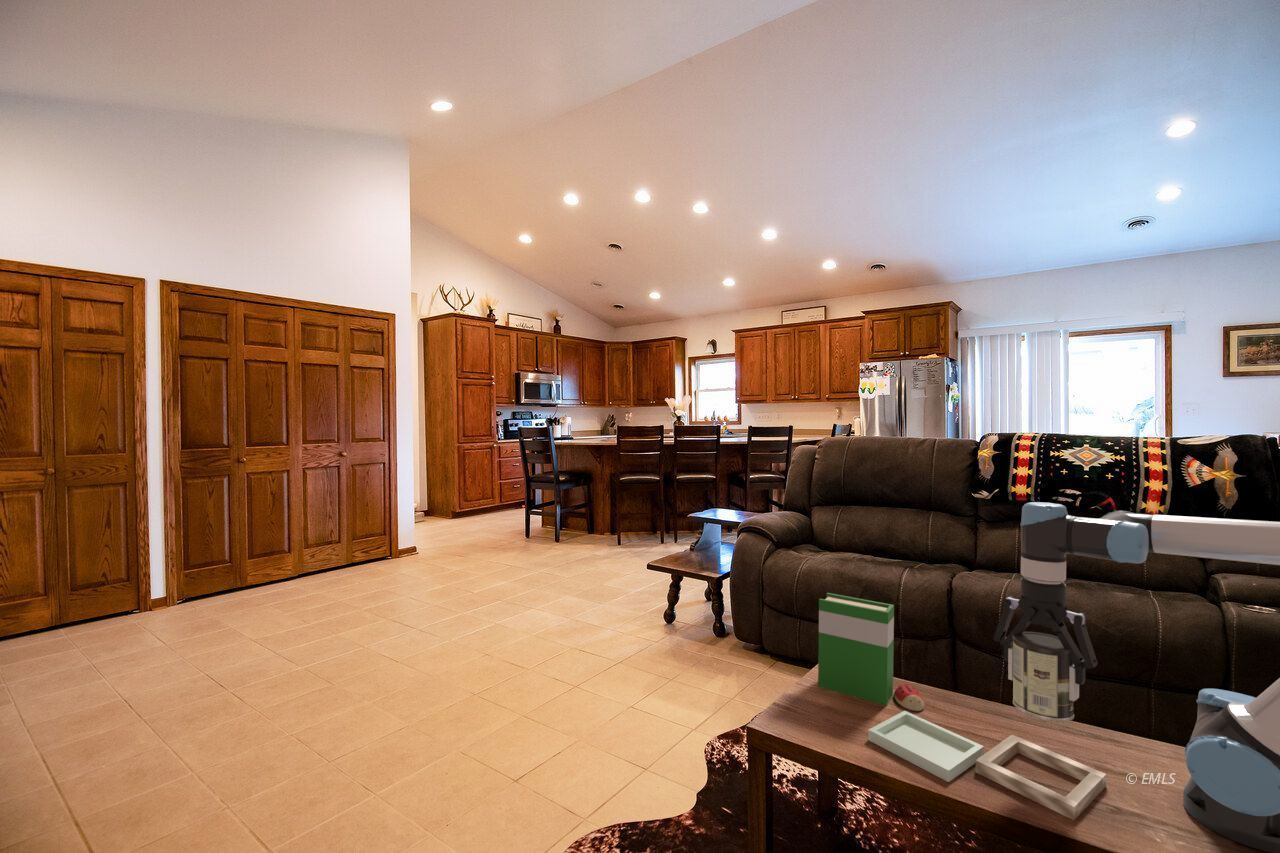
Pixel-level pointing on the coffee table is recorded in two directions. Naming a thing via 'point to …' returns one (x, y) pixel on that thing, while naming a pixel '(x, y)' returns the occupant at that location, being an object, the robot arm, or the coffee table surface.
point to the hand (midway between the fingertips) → (1042, 688)
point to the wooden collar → (1066, 806)
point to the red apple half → (909, 698)
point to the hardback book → (856, 647)
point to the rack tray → (926, 745)
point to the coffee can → (1041, 677)
